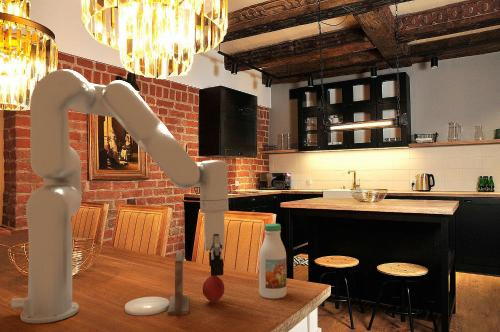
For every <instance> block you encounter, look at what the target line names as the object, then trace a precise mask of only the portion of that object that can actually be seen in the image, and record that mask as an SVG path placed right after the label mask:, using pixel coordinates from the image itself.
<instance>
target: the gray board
mask: <svg viewBox="0 0 500 332" xmlns="http://www.w3.org/2000/svg"><path fill="white" fill-rule="evenodd" d="M175 254H176V255H175V260H174V295H170V298H169V308H168V309H167V316H173V315H174V316H175V315H189V314H190V313H189V311H190V310H189V309H190V295H189V294H186V295H185V294H184V250H177V251H176V253H175Z"/></svg>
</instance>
